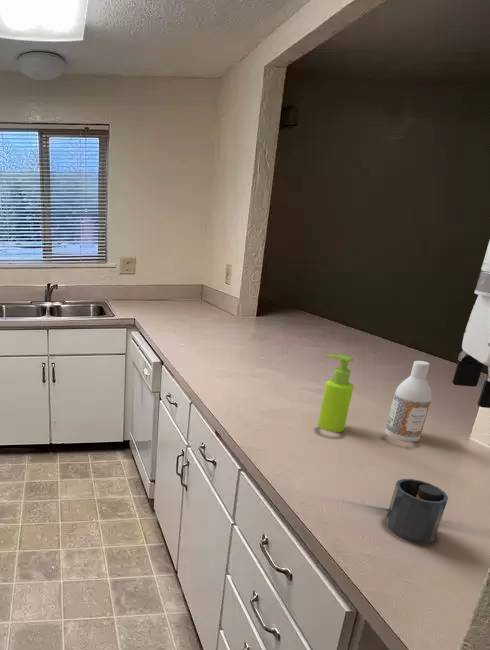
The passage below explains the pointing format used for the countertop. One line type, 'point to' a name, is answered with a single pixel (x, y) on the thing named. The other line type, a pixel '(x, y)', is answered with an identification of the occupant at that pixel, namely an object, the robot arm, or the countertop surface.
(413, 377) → the bath foam
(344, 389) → the soap dispenser
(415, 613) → the countertop surface
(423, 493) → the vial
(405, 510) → the holder
